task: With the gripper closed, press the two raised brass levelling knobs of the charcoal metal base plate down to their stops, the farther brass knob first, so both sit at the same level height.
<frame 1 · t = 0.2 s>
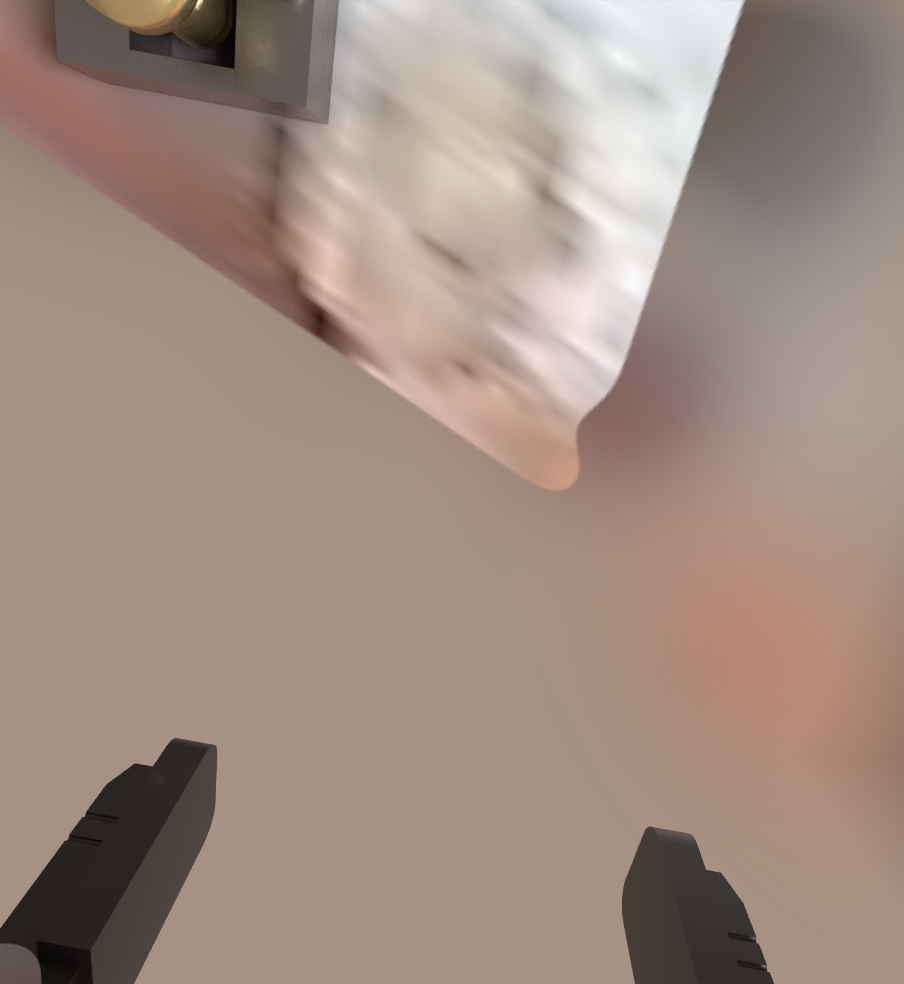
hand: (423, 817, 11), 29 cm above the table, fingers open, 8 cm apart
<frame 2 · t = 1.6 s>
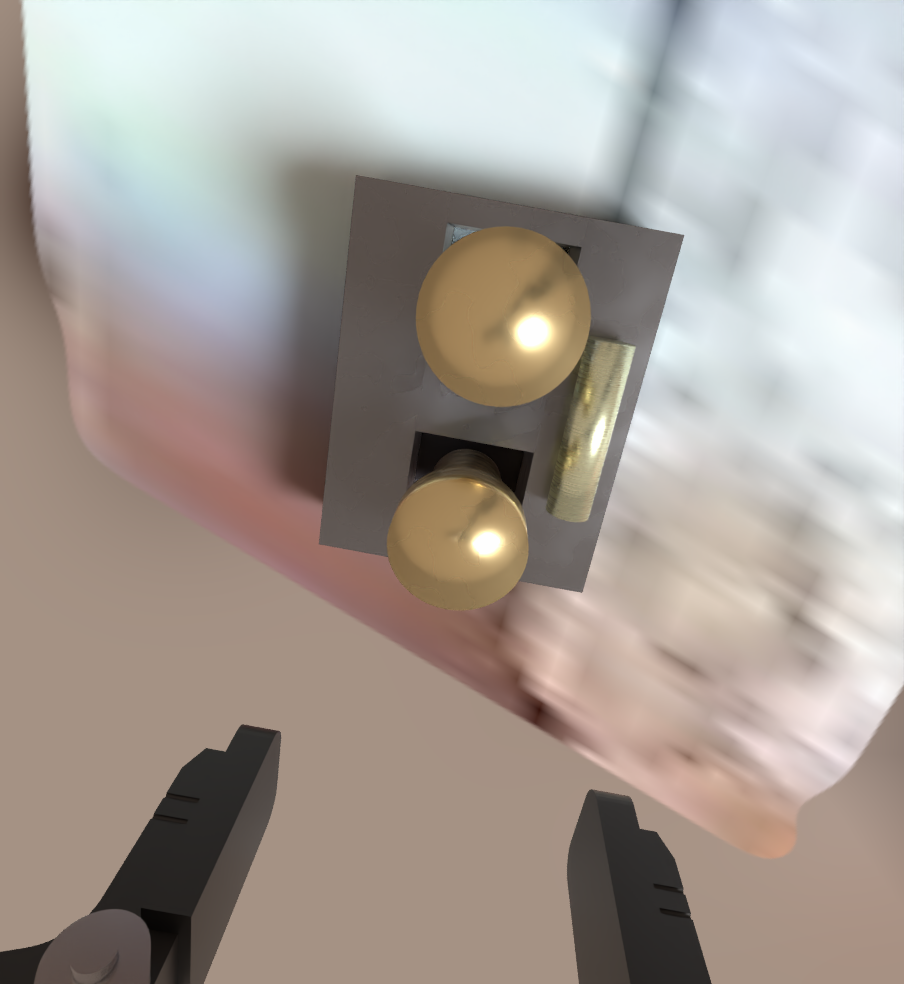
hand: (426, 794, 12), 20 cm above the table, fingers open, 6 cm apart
brass knob 1: (501, 311, 21), point 7 cm above the table, slide at 3.2 cm
level base plate: (483, 386, 29), on the table
brass knob 2: (462, 511, 25), point 6 cm above the table, slide at 2.0 cm
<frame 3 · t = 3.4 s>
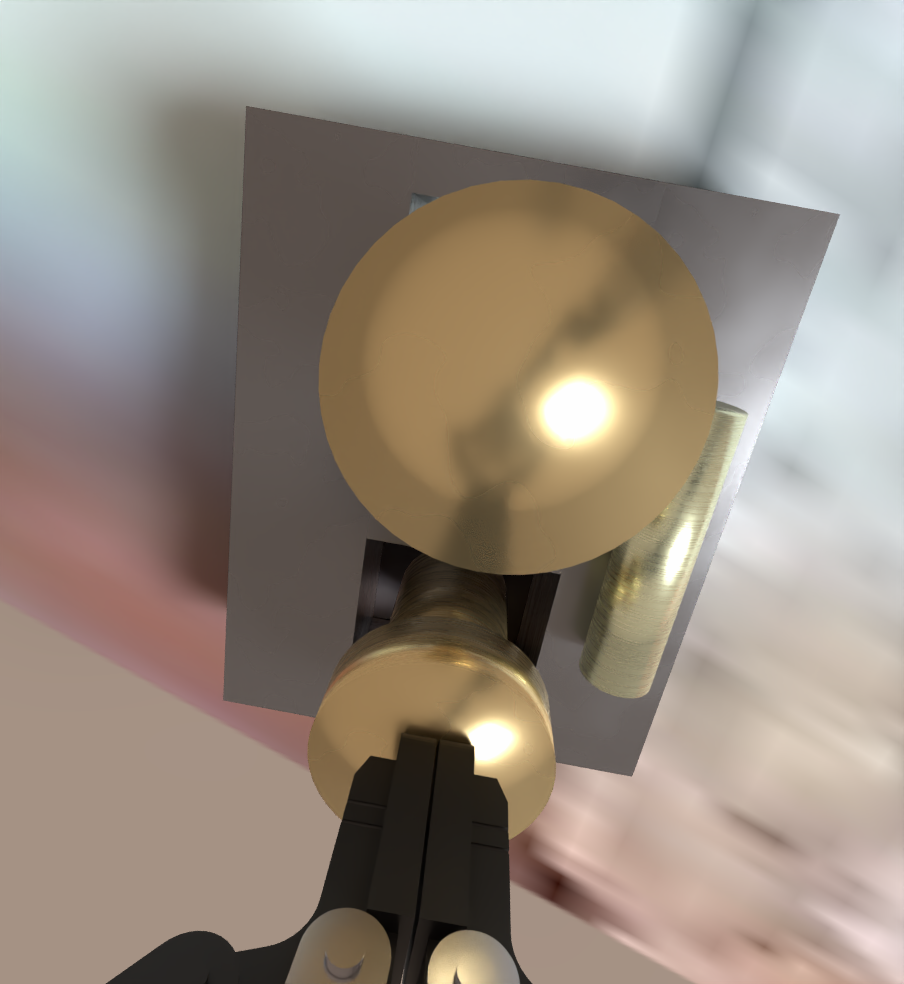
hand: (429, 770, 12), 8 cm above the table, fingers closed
brass knob 1: (509, 357, 11), point 7 cm above the table, slide at 3.2 cm
level base plate: (479, 452, 19), on the table
brass knob 2: (444, 662, 16), point 5 cm above the table, slide at 1.4 cm, touching gripper
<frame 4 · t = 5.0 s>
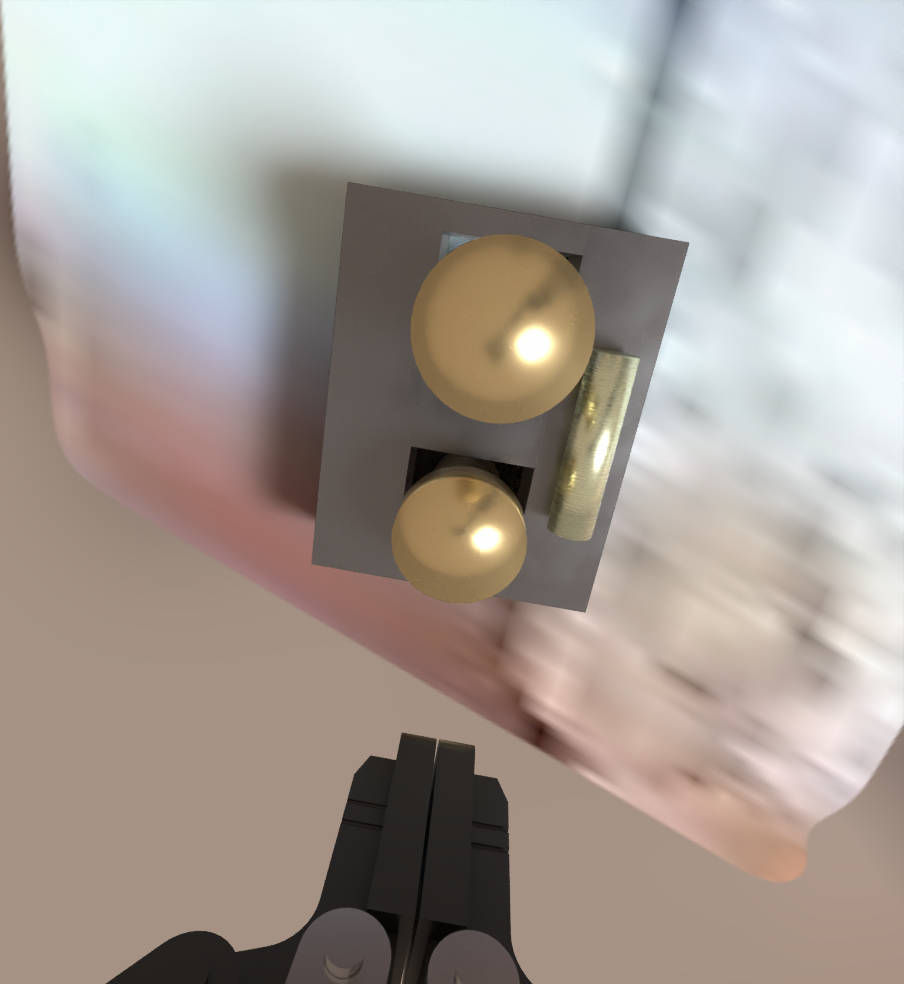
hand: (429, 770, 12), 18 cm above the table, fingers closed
brass knob 1: (500, 322, 20), point 7 cm above the table, slide at 3.2 cm
level base plate: (481, 399, 28), on the table
brass knob 2: (462, 509, 26), point 3 cm above the table, slide at -0.2 cm
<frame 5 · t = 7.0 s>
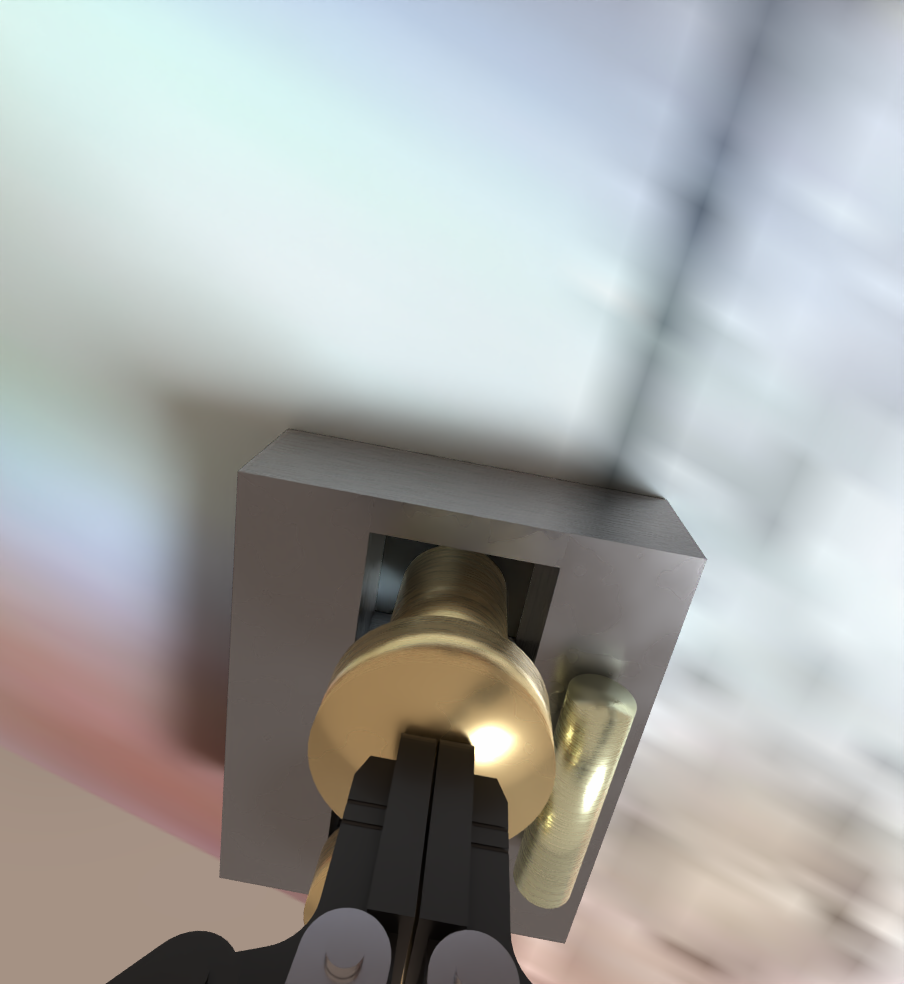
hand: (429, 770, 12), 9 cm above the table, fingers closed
brass knob 1: (444, 661, 16), point 5 cm above the table, slide at 1.7 cm, touching gripper
level base plate: (438, 659, 22), on the table
brass knob 2: (408, 823, 20), point 3 cm above the table, slide at -0.2 cm
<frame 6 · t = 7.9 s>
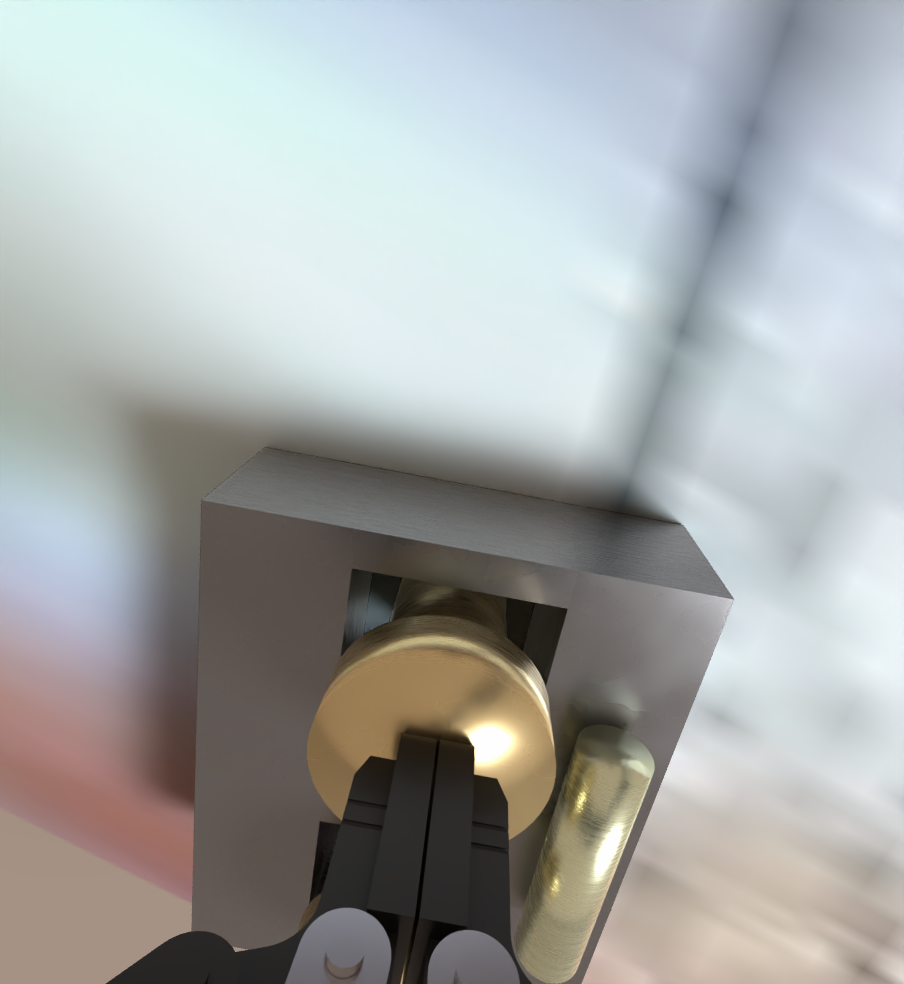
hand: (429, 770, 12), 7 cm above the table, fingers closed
brass knob 1: (443, 661, 15), point 3 cm above the table, slide at -0.2 cm, touching gripper
level base plate: (432, 697, 20), on the table
brass knob 2: (399, 880, 18), point 3 cm above the table, slide at -0.2 cm
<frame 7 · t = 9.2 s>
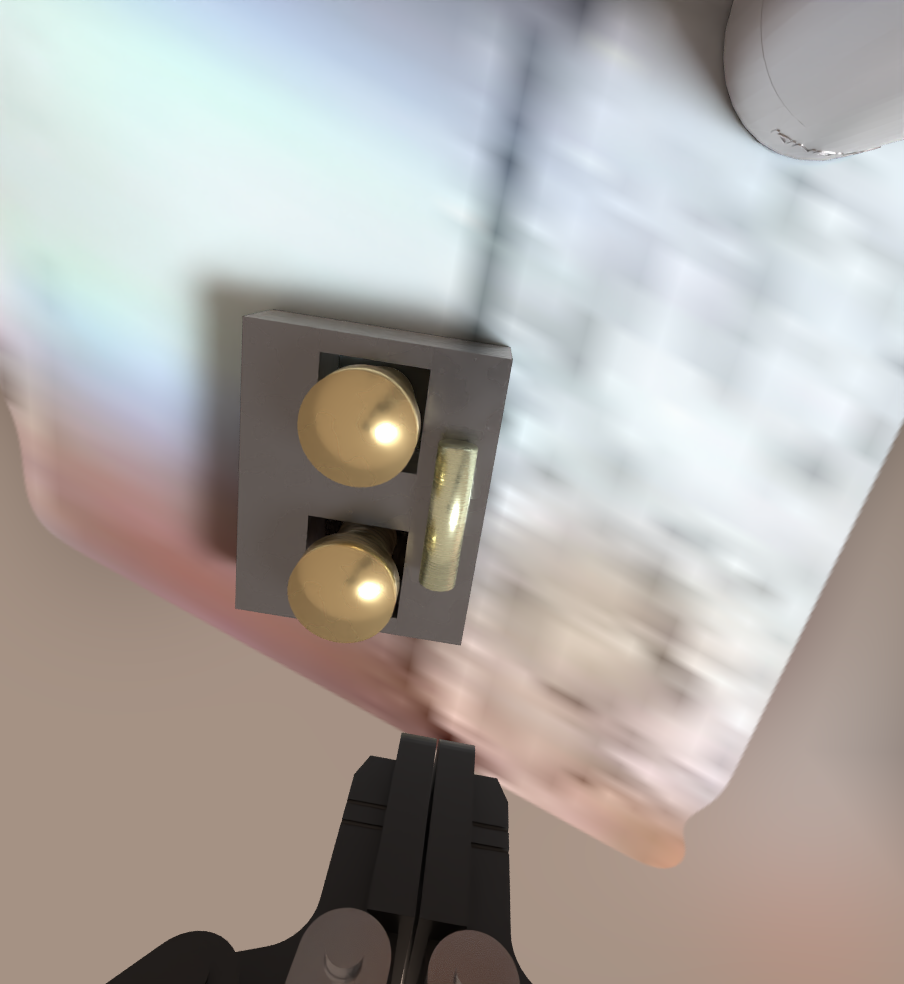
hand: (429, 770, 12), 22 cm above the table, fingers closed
brass knob 1: (371, 412, 29), point 3 cm above the table, slide at -0.1 cm
level base plate: (376, 469, 33), on the table
brass knob 2: (356, 563, 32), point 3 cm above the table, slide at -0.2 cm
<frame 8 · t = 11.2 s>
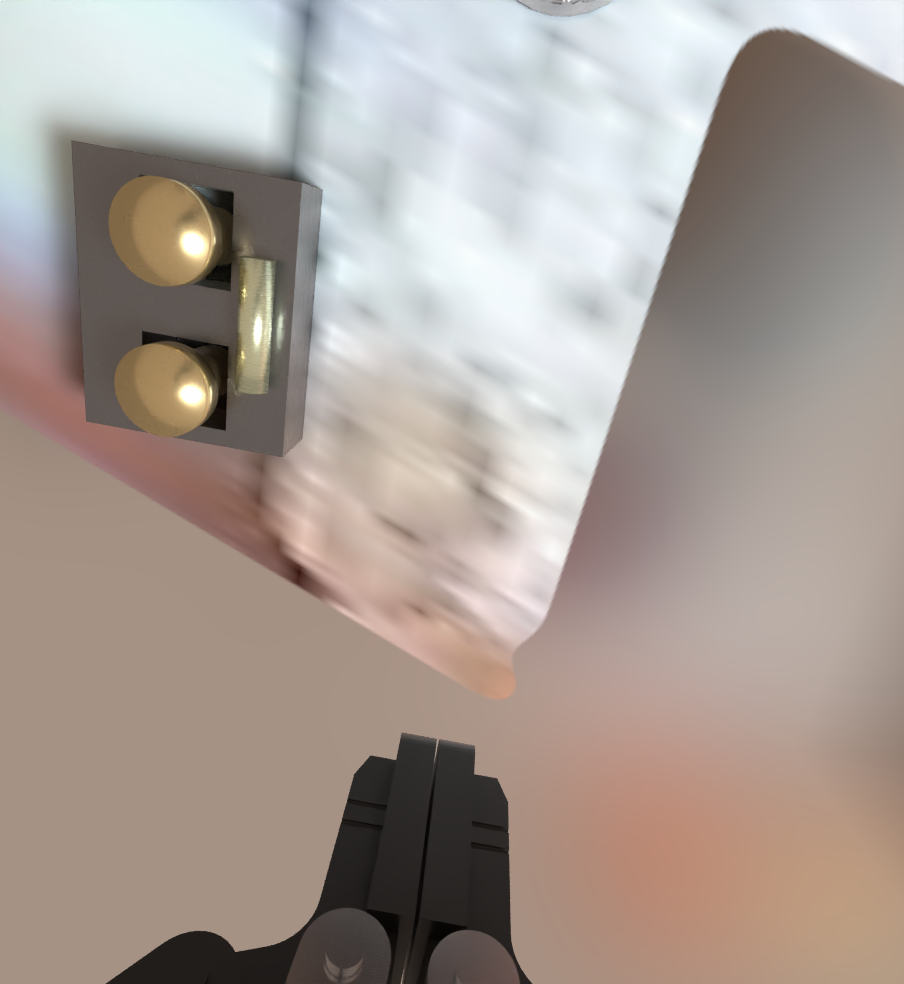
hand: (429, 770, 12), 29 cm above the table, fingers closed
brass knob 1: (190, 234, 33), point 3 cm above the table, slide at -0.1 cm
level base plate: (215, 305, 38), on the table
brass knob 2: (189, 380, 36), point 3 cm above the table, slide at -0.2 cm
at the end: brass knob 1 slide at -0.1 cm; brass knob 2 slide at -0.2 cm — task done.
